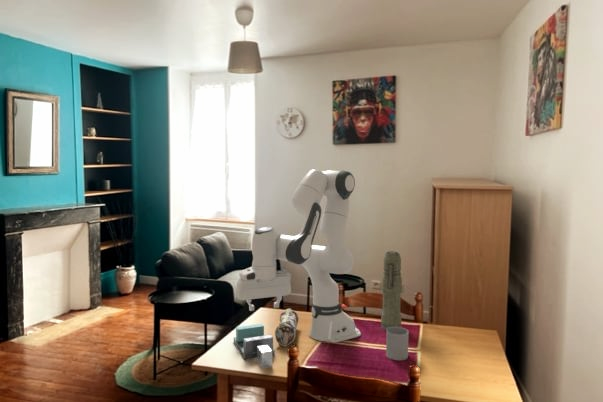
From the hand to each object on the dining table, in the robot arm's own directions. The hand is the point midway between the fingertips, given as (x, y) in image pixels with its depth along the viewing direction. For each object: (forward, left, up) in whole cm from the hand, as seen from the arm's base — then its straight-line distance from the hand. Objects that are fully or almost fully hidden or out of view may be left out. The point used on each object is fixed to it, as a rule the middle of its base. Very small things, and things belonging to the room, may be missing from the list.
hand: (264, 309), depth 161 cm
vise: (0, -15, -21) cm, 26 cm away
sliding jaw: (0, -20, -19) cm, 27 cm away
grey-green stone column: (-64, -13, -21) cm, 69 cm away
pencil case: (-17, -22, -21) cm, 35 cm away
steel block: (0, 0, -21) cm, 21 cm away
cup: (-50, +12, -21) cm, 56 cm away
